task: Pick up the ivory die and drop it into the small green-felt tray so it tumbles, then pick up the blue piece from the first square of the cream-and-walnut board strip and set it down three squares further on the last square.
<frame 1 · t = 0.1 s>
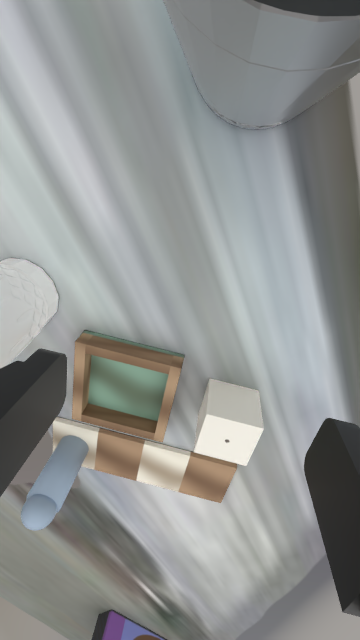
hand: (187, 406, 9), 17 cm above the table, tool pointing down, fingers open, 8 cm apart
white cup: (26, 291, 29), on the table
cereal box: (139, 629, 62), on the table
tray: (128, 381, 32), on the table
die: (227, 402, 31), on the table
board: (141, 458, 37), on the table
blue piece: (74, 446, 37), point 1 cm above the table, touching board
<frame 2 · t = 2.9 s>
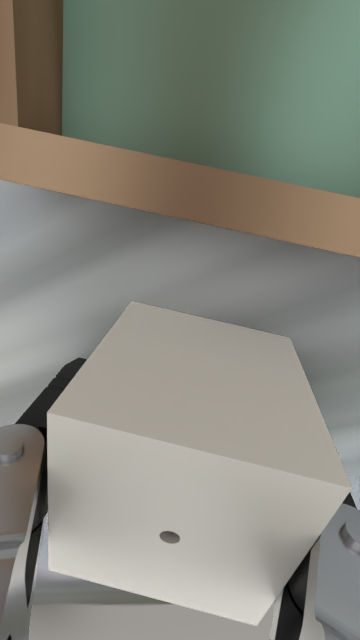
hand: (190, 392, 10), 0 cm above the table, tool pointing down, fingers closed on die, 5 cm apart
die: (193, 382, 10), on the table, touching gripper
when the fingers open (8 cm above the table, at t = 5.8 s): die drops 7 cm, resting on tray.
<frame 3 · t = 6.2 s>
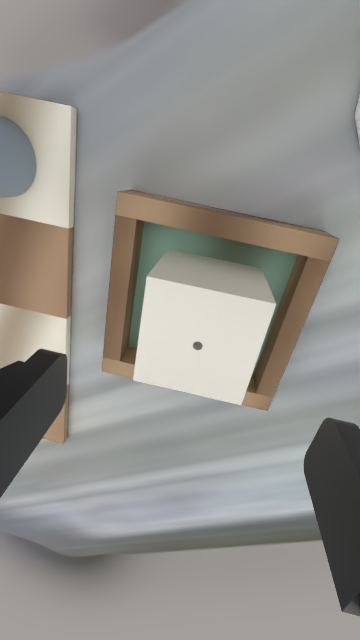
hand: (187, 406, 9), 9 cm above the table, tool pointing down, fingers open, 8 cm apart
tray: (204, 300, 17), on the table
die: (204, 301, 17), resting on tray
board: (18, 302, 19), on the table
blue piece: (2, 157, 15), point 1 cm above the table, touching board
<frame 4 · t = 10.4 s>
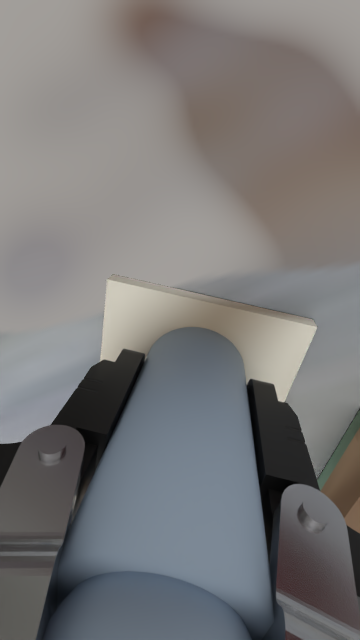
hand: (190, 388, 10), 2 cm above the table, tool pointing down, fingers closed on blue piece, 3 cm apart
board: (161, 495, 15), on the table
blue piece: (194, 371, 11), point 1 cm above the table, touching board, gripper
when the fingers open (3 cm above the table, at t = 15.3 s): blue piece drops 1 cm, resting on board.
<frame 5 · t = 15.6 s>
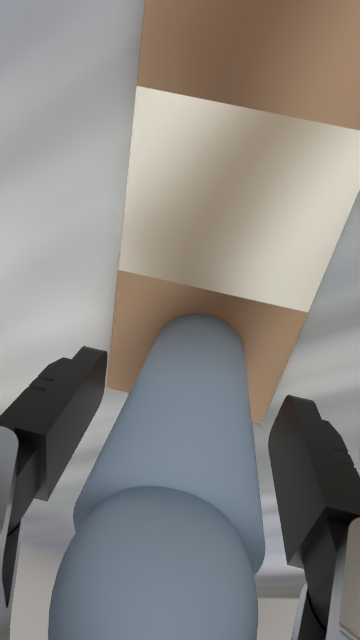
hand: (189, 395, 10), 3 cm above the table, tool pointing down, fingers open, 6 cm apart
board: (255, 114, 9), on the table
blue piece: (198, 355, 12), point 1 cm above the table, touching board
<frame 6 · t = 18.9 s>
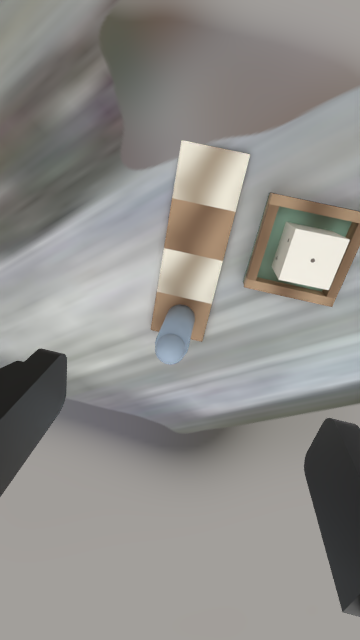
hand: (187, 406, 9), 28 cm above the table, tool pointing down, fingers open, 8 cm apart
tray: (299, 249, 34), on the table
die: (300, 249, 33), resting on tray
board: (193, 253, 35), on the table
blue piece: (180, 317, 39), point 1 cm above the table, touching board
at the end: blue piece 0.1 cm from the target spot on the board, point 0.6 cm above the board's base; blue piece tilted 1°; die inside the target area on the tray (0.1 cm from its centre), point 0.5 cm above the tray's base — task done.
